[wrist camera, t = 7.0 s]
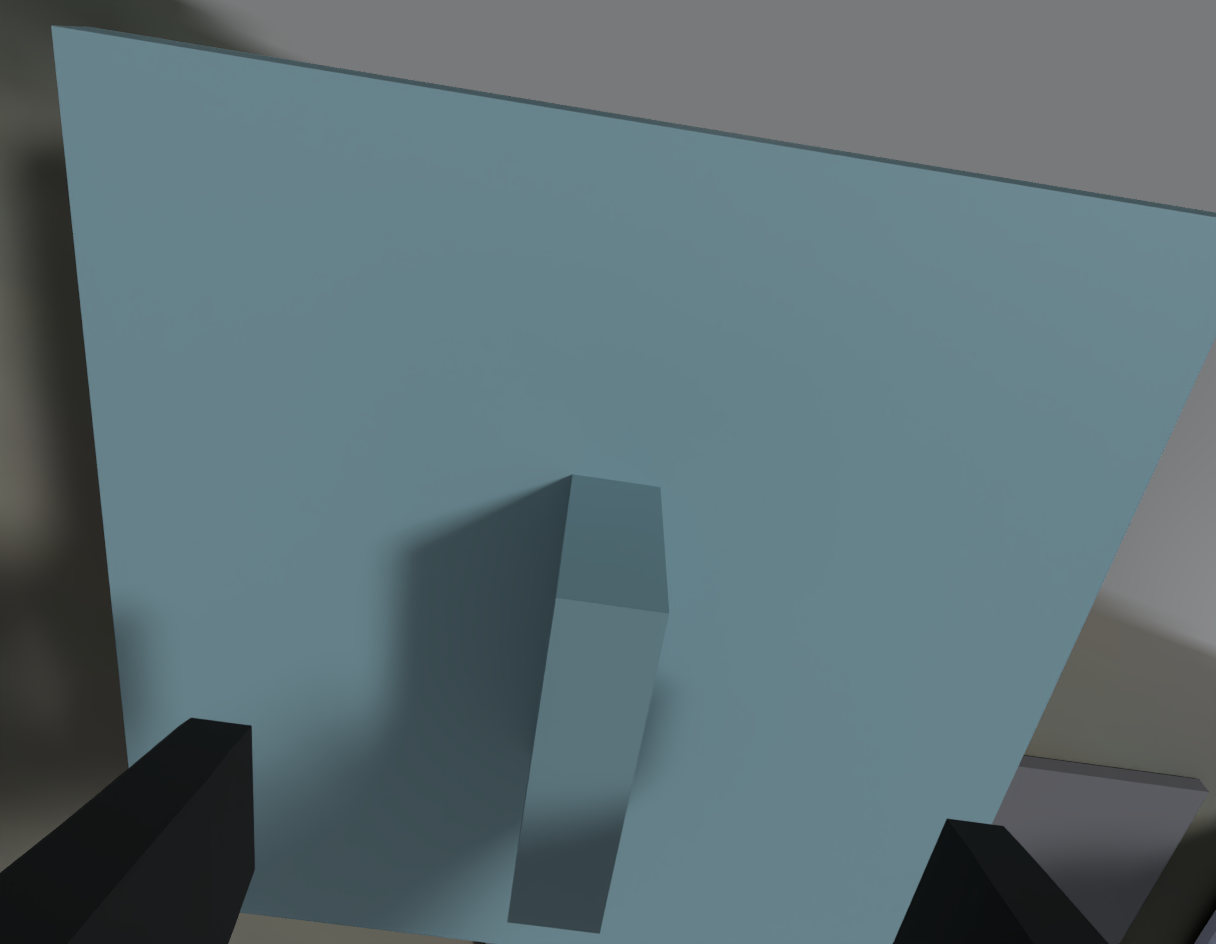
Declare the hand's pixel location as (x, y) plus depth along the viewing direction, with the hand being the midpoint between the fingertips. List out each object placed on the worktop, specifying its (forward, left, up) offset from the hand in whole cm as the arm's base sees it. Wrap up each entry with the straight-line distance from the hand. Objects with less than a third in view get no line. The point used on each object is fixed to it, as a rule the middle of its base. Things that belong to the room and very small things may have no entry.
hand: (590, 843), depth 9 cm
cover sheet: (0, 0, -5) cm, 5 cm away
